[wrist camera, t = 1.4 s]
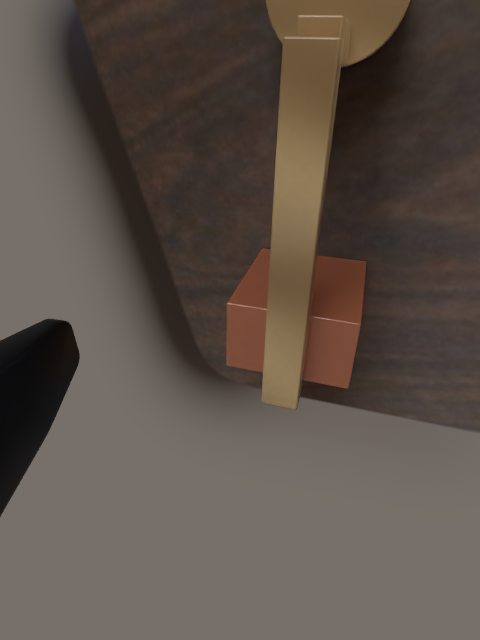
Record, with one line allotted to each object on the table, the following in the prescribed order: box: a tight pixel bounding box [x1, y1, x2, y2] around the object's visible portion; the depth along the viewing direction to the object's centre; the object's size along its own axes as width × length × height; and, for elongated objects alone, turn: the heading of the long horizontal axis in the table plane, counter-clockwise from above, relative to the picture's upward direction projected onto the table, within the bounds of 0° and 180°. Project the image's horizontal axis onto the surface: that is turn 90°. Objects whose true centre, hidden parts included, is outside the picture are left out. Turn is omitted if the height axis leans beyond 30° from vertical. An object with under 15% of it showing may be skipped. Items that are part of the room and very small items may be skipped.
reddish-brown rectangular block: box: [227, 248, 367, 389], centre depth 19 cm, size 3×5×6 cm, turn 89°
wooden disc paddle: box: [261, 0, 410, 410], centre depth 16 cm, size 16×5×7 cm, turn 179°
